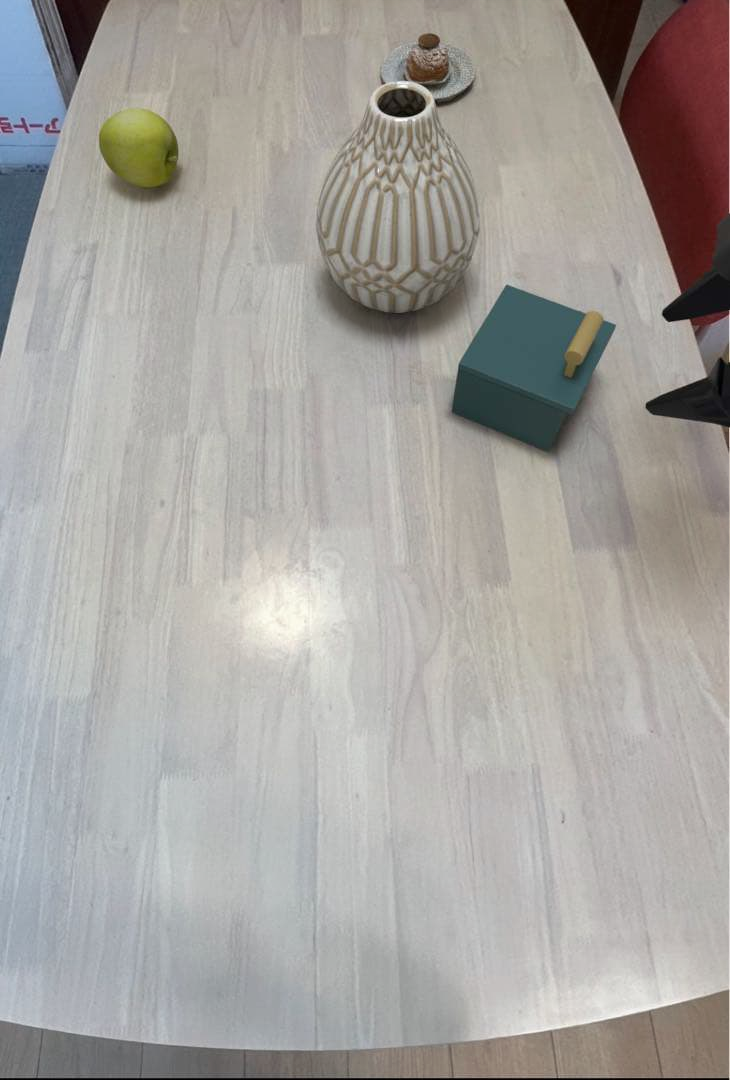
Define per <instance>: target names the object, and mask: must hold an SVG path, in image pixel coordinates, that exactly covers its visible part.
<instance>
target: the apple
mask: <svg viewBox="0 0 730 1080" xmlns="http://www.w3.org/2000/svg"><path fill="white" fill-rule="evenodd" d="M98 147H99V151H100V153H101V155H102V159H103V161H104V162H105V164H106V165H107V166H108V168H109V169H110V170H111V172H113V173H114V174H115V175H116V176H118V177H119V178H121V179H122V180H124V181H126V182H127V183H129V184H132V185H134V186H137V187H142V188H156V187H160V186H163V185H165V184H166V183H168V182H169V181H170V180H171V179H172V177H173V175H174V173H175V170H176V167H177V164H178V160H179V154H180V153H179V142H178V138H177V136H176V134H175V132H174V130H173V128H172V127H171V125H170V124H169V123H168V121H166V120H165V118H163V117H162V116H161V115H159V114H157V113H156V112H154V111H152V110H149V109H146V108H142V107H141V108H140V107H137V108H136V107H135V108H128V109H125V110H122V111H119V112H117V113H116V114H114V115H112V116H109V118H108V119H106V121H104V123H103V124H102V126H101V128H100V129H99V134H98Z"/></svg>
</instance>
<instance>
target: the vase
mask: <svg viewBox="0 0 730 1080" xmlns="http://www.w3.org/2000/svg"><path fill="white" fill-rule="evenodd" d="M480 217H481V216H480V208H479V199H478V194H477V189H476V186H475V182H474V177H473V175H472V171H471V170H470V167H469V165H468V163H467V161H466V159H465V157H464V156H463V154H462V152H461V151H460V148H459V147H458V145H457V144H456V142H455V141H454V139H452V137H451V136H450V134H449V133H448V132H447V130H446V129H445V128H444V127H443V125H442V122H441V120H440V116H439V113H438V109H437V103H435V101H434V98H433V96H432V94H431V92H430V91H429V90H428V89H426V88H425V87H423V86H422V85H420V84H417V83H414V82H409V81H394V82H390V83H386V84H385V83H384V84H382V85H380V86H378V87H377V88H375V90H374V91H372V93H371V95H370V97H369V99H368V102H367V105H366V108H365V112H364V114H363V117H362V120H361V122H360V124H359V125H358V126H357V128H356V129H355V130H354V131H353V132H352V133H351V134H350V136H348V138H347V139H346V140H345V142H344V143H343V145H342V146H341V148H340V149H339V151H338V152H337V154H336V155H335V157H334V158H333V160H332V162H331V164H330V166H329V168H328V170H327V173H326V175H325V178H324V180H323V183H322V186H321V191H320V194H319V199H318V203H317V210H316V219H315V221H316V222H315V227H316V228H315V229H316V238H317V243H318V246H319V247H318V248H319V250H320V253H321V257H322V259H323V262H324V265H325V266H326V268H327V270H328V273H329V274H330V276H331V277H332V279H333V280H334V281H335V283H336V284H337V285H338V287H339V288H340V289H341V290H342V291H343V292H344V293H346V295H347V296H348V297H350V298H351V299H352V300H354V301H355V302H357V303H359V304H361V305H362V306H365V307H367V308H369V309H372V310H375V311H379V312H383V313H390V314H397V313H398V314H400V313H409V312H414V311H418V310H422V309H423V308H427V307H429V306H431V305H433V304H435V303H436V302H438V301H439V300H441V299H443V298H444V296H446V295H447V294H448V293H449V292H450V291H452V290H453V288H454V287H455V286H456V285H457V284H458V282H459V281H460V280H461V278H462V277H463V276H464V274H465V273H466V271H467V269H468V267H469V265H470V263H471V261H472V258H473V256H474V254H475V250H476V248H477V244H478V239H479V233H480V221H481V220H480Z"/></svg>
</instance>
